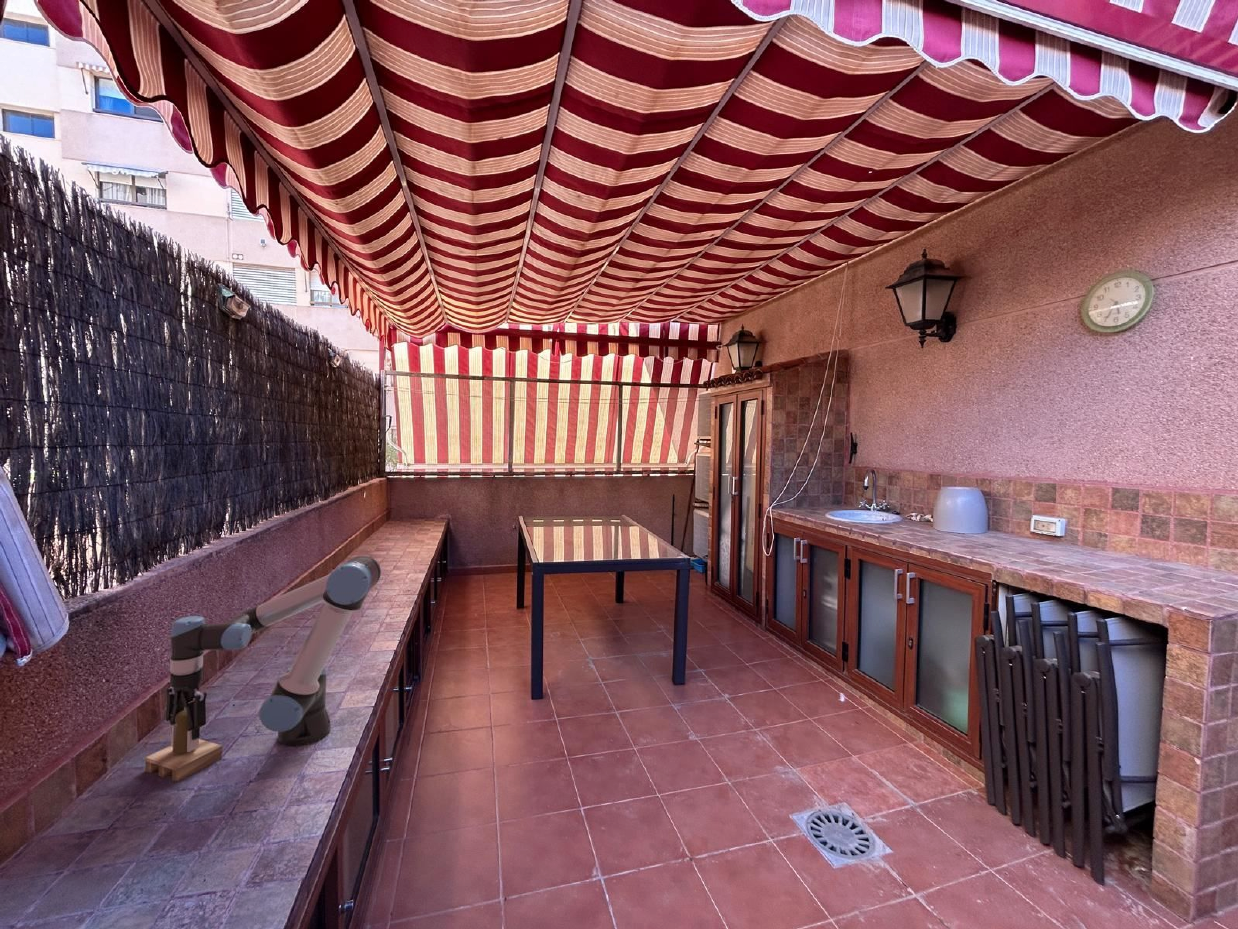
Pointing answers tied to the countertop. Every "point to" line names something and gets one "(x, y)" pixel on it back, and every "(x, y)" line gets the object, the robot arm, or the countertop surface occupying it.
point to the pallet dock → (183, 760)
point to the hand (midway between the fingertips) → (185, 747)
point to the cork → (181, 732)
